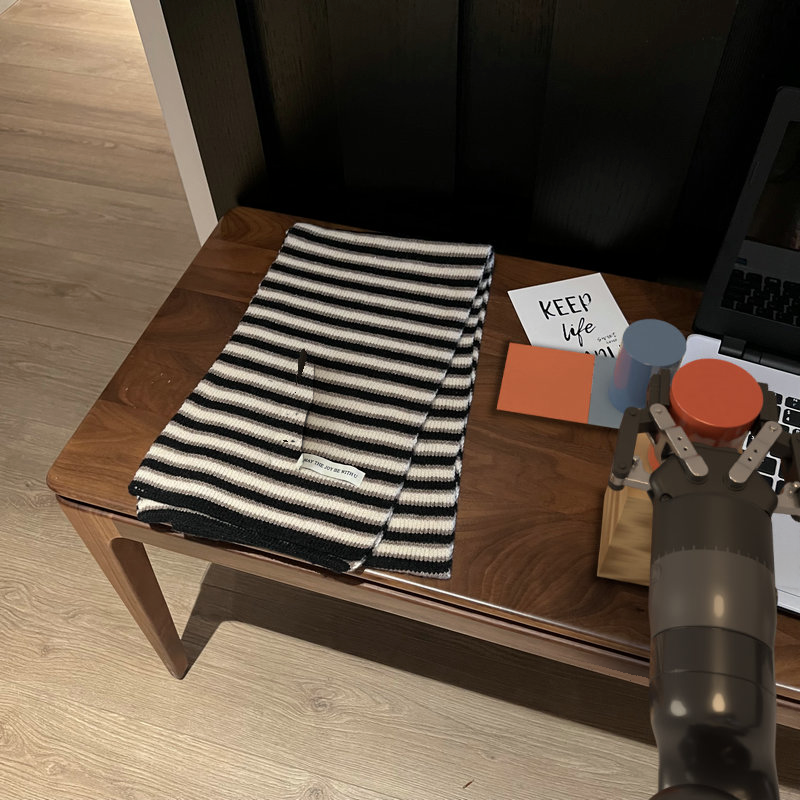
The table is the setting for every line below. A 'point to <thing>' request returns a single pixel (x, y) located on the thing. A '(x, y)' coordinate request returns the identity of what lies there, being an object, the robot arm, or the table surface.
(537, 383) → the board
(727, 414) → the orange cylinder
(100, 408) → the table surface
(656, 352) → the upturned slate cup
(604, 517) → the stand
